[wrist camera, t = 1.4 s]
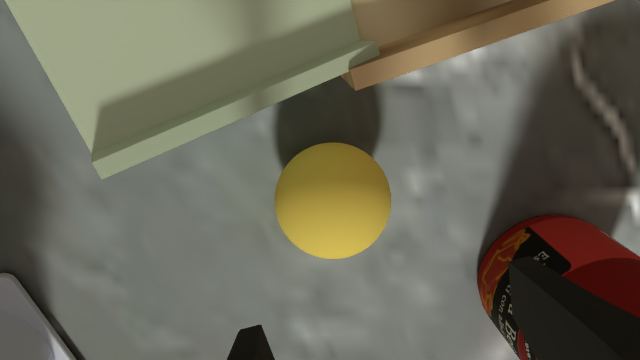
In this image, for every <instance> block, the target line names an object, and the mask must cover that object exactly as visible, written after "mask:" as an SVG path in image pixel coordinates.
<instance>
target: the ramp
mask: <svg viewBox="0 0 640 360" xmlns="http://www.w3.org/2000/svg"><path fill="white" fill-rule="evenodd" d="M5 1H6V3H7V5H8V7H9V8H10V10H11V12H12V14H13V16H14V17H15V19H16V21H17V23H18V24H19V26H20V28H21V30H22V31H23V33H24V35H25V37H26V38H27V40H28V42H29V44H30V46H31V47H32V49H33V51H34V53H35V54H36V56H37V58H38V60H39V61H40V63H41V65H42V67H43V68H44V70H45V72H46V74H47V76H48V77H49V79H50V81H51V83H52V84H53V86H54V88H55V90H56V91H57V93H58V95H59V97H60V98H61V100H62V102H63V104H64V106H65V107H66V109H67V111H68V113H69V114H70V116H71V118H72V120H73V121H74V123H75V125H76V127H77V128H78V130H79V132H80V134H81V136H82V137H83V139H84V141H85V143H86V144H87V146H88V148H89V150H90V151H91V153H92V164H93V165H94V167H95V169H96V171H97V172H98V174H99V176H100V178H101V179H104V178H107V177H109V176H111V175H113V174H116V173H118V172H120V171H123V170H125V169H127V168H129V167H132V166H134V165H136V164H139V163H141V162H143V161H145V160H148V159H150V158H152V157H155V156H157V155H159V154H161V153H164V152H166V151H168V150H170V149H173V148H175V147H177V146H180V145H182V144H184V143H186V142H189V141H191V140H193V139H196V138H198V137H200V136H202V135H205V134H207V133H209V132H212V131H214V130H216V129H218V128H221V127H223V126H225V125H228V124H230V123H232V122H234V121H237V120H239V119H241V118H244V117H246V116H248V115H250V114H253V113H255V112H257V111H260V110H262V109H264V108H266V107H269V106H271V105H273V104H276V103H278V102H280V101H282V100H285V99H287V98H289V97H291V96H294V95H296V94H298V93H301V92H303V91H305V90H307V89H310V88H312V87H314V86H317V85H319V84H321V83H323V82H326V81H328V80H330V79H333V78H335V77H337V76H339V75H342V74H344V73H346V72H349V68H351V67H353V66H355V65H358V64H360V63H362V62H365V61H367V60H369V59H372V58H374V57H376V56H378V55H380V52H379V47H378V43H377V41H361V40H360V36H359V33H358V29H357V25H356V21H355V17H354V13H353V10H352V6H351V2H350V0H5Z"/></svg>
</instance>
